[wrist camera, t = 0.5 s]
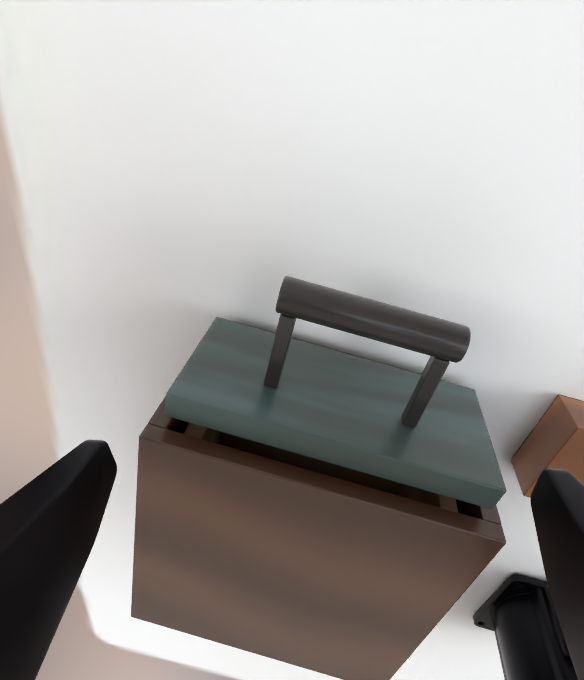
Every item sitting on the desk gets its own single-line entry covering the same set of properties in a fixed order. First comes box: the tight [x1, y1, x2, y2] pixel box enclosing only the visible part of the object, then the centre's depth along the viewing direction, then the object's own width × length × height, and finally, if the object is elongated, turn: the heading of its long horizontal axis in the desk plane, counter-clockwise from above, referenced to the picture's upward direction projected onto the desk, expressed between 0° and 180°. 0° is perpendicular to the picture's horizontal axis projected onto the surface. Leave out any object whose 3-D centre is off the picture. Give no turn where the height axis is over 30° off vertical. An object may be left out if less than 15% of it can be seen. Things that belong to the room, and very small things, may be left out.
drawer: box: [165, 276, 506, 513], centre depth 21 cm, size 18×13×6 cm
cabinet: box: [131, 396, 506, 680], centre depth 24 cm, size 15×15×8 cm
